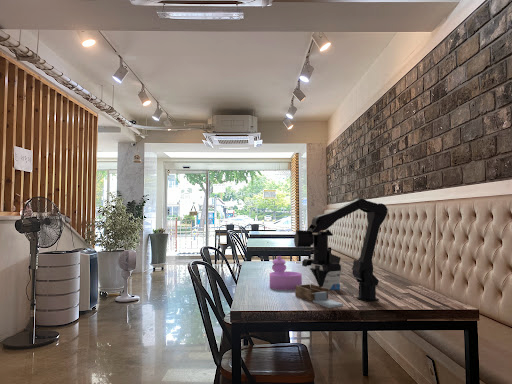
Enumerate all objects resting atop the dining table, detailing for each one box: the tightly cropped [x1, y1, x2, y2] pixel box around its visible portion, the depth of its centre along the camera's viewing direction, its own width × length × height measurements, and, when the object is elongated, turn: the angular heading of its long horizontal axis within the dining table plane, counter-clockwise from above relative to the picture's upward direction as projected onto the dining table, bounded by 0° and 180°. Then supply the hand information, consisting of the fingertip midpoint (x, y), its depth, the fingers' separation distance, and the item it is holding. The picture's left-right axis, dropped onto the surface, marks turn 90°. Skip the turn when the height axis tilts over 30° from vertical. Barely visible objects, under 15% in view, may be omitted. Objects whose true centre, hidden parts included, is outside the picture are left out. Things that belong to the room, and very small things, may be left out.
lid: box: [312, 292, 344, 309], centre depth 145 cm, size 10×7×4 cm, turn 25°
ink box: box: [323, 271, 341, 291], centre depth 176 cm, size 8×5×12 cm, turn 84°
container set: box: [269, 255, 303, 291], centre depth 185 cm, size 25×15×13 cm, turn 10°
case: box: [294, 283, 329, 303], centre depth 155 cm, size 12×8×4 cm, turn 25°
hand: (320, 286), depth 149 cm, fingers closed
